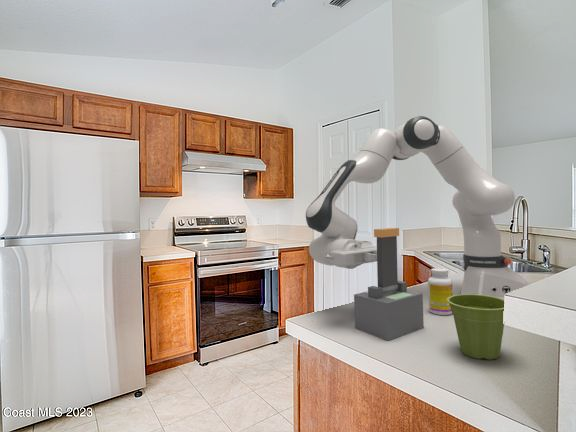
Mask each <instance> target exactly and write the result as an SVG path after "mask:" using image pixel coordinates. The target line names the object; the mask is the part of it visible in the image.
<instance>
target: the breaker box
mask: <svg viewBox="0 0 576 432" xmlns="http://www.w3.org/2000/svg"><path fill="white" fill-rule="evenodd" d="M407 284H408V282H407V281H401V280H398V284H397V285H398V290H396V291H392V292H388V293H384V294H382V288H380V287H378V286H377V285H375V286H374V285H372V286H367V291H363V292H358V293H355V294H353V304H354V305H353V306H354V308H353V309H354V328H355V329H357V330H359V331H362V332H365V333H366V334H369V335H372V336H375V337H377V338H380V339H383V340H385V341H389V342H390V341H392V340H395V339H397V338H400V337H402V336H405V335H407V334H411V333H414V332H416V331H419V330H422V329H424V328H425V326H424V325H425V324H424V322H425V321H424V294H423V293H422V292H417V291H412V290H408V285H407Z"/></svg>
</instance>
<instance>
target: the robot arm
mask: <svg viewBox="0 0 576 432" xmlns="http://www.w3.org/2000/svg"><path fill="white" fill-rule="evenodd" d="M419 153H423V154H424V155H426V156H427V157H428V159H429V160H430V162H431V164H433V167H435V168H436V170H437V171H438V173H439V174H440V176H441V177H442V179H443V180H444V181H445V182H446V183H447V184H449V185H451V187H453V188H455V189H456V190H457V191H456V192H455V193H454V194H453V197H452V200H451V201H452V207H454V209H455V211H456V212H457V214H458V217H459V220H460V224H461V227H462V233H463V247H464V249H463V251H464V253H463V255H462V268H463V280H462V285H461V289H460V293H459V294H478V295H487V296H493V297H498V298H501V299H504V295H505V294H506V293H508V292H511V291H513V290H516V289H519V288H522V287H524V286H527V285H529V282H528V280H527V279H526V278H524V277H523V276H522V275H520V274H519V273H518V272H516V271H515V270H514V269H512V268H511V267H509V266H511V264H512V262H513V260H512V259H511V258H509V257H506V256H504V255H502V241H501V239H502V238H501V237H502V236H501V235H502V234H501V232H500V230H499V229H498V227H496V225H495V223H494V220H493V217H492V216H497V215H501V214H504V213H506V212H509V210H511V209H512V207H514V204H515V202H516V201H515V200H516V195H515V192H514V190H513V188H511V187H510V186H509V185H507V184H506V183H503V182H501V181H500V180H497V179H496V178H495V177H493V176H492V175H491V174H490V173H489V172H487V171H486V170H485V169H484V168H482V167H481V166H480V164H478V163H477V162H476V161H475V159H474V158H473V156H472V155H471V154H470V153H469V151H468V150H467V149H466V147H465V145H463V143H462V142H461V141H460V140H459V138H458V137H457V136H456V135H455V134H454V133H453V132H452V131H451V130H450V129H448V128H447V127H446V126H444V125H440V124H439V125H438V124H436V123H435V121H433V120H432V119H431V118H429V117H427V116H424V115H419V116H415V117H413V118H410V119H409V120H407V121H406V122H405V123H403V124H402V125H399V127H398V128H397V129H396V130H395V131H392V130H390V129H388V128H383V127H381V128H376V129H374V130H373V131H372V132H371V133H370V134H369V135H368V137H367V138H366V139H365V141H364V143H363V144H362V145H361V148H360V149H359V151H358V152H357V155H356V156H355V157H354V158H353V159H348V160H346V161H345V162H343V164H342V165H341V166H340V167H339V168H338V170H336V172H335V173H334V174H333V176H332V177H331V178H330V180H329V181H328V183H326V185H325V187H324V188H323V190H322V191H321V192H320V194H319V195H318V196H317V197H316V198H315V199H314V200H313V201H312V202H311V203H310V204H309V206H308V207H307V208H306V212H305V221H306V225H307V227H309V228H310V229H312V230H314V231H316V232H319V234H321V235H319V237H317V238H314V239H313V240H311V241H310V242H309V246H308V253H309V256H311V259H312V260H314V262H316V263H319V264H321V265H325V266H334V267H335V266H336V267H338V268H343V269H349V270H351V269H352V270H353V269H356V268H357V267H359V266H361V265H364V264H370V263H375V262H376V263H377V243H372V241H370V240H369V241H367V240H357V239H356V237H357V232H358V224H357V221H356V220H355V219H354V218H353V217H351V216H350V215H349V214H347V213H345V212H344V211H343V210H341V209H339V208H338V207H336V204H335V203H336V201H337V200H338V198H339V196H340V195H341V194H342V192H343V191H344V190H345V188H346V187H347V185H348V184H350V183H351V182H356V183H360V184H375V183H376V182H379V181H380V180H382V178H383V177H384V176H385V174H386V173H387V170H388V168H389V166H390V164H391V162H392V159H393V160H395V161H404V160H407V159H409V158H411V157H414V156H416V155H417V154H419Z"/></svg>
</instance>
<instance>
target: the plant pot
mask: <svg viewBox="0 0 576 432" xmlns="http://www.w3.org/2000/svg"><path fill="white" fill-rule="evenodd" d="M447 302H448V303H450V307H451V311H452V316H453V319H454V325H455V328H456V334H457V339H458V344H459V349H460V350H461V352H462V353H463V354H464V355H466V356H468V357H471V358H472V359H473V358H474V359H479V360H480V359H486V360H496V359H499V357H500V355H501V350H502V341H503V335H504V328H505V323H504V324H503V311H504V299H501V298H498V297H493V296H487V295H478V294H461V293H459V294H453V296H450V297H448V298H447Z"/></svg>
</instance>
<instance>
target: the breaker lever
mask: <svg viewBox="0 0 576 432" xmlns="http://www.w3.org/2000/svg"><path fill="white" fill-rule="evenodd" d="M397 236H398V237H399V236H400V227H386V228H374V229H373V237H374V238H376V244H377V262H376V266H377V267H376V268H377V269H376V270H377V273H376V274H377V277H376V278H377V287H380V288H382V294H384V293H388V292H392V291H396V290H398V285H397V284H398V281H399V280H398V278H399V277H398V242H397V241H398V239H397V238H398V237H397Z"/></svg>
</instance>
